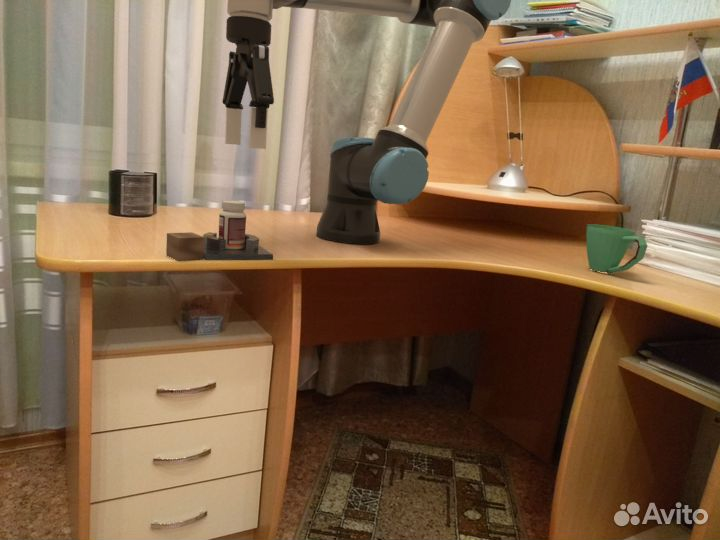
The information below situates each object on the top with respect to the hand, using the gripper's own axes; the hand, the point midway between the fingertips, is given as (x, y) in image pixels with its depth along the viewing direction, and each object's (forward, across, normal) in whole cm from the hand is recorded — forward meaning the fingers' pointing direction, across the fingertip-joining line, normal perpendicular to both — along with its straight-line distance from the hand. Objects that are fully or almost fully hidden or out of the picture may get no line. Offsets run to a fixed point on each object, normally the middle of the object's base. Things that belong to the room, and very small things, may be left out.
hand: (244, 146), depth 98 cm
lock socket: (+19, +1, -2) cm, 19 cm away
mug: (+21, +25, +76) cm, 83 cm away
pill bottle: (+18, +1, -2) cm, 19 cm away
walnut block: (+19, +5, -11) cm, 23 cm away
